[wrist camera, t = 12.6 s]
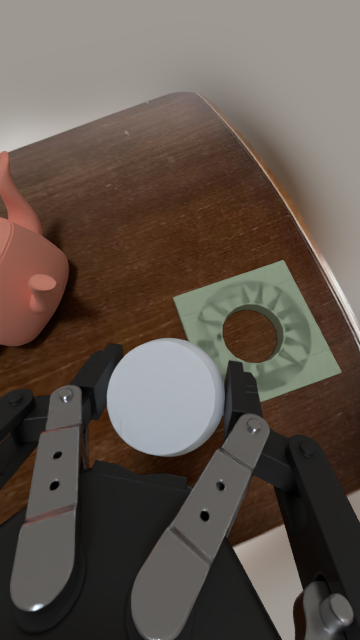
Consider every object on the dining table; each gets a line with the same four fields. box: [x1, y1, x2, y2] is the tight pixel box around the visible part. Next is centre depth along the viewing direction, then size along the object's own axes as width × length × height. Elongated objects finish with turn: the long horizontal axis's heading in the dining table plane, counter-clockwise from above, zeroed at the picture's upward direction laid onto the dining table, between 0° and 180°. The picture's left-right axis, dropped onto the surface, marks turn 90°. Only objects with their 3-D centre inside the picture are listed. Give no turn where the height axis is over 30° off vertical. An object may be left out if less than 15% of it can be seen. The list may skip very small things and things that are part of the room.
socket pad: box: [173, 260, 341, 416], centre depth 32 cm, size 16×16×2 cm
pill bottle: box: [107, 338, 225, 457], centre depth 15 cm, size 6×6×11 cm
